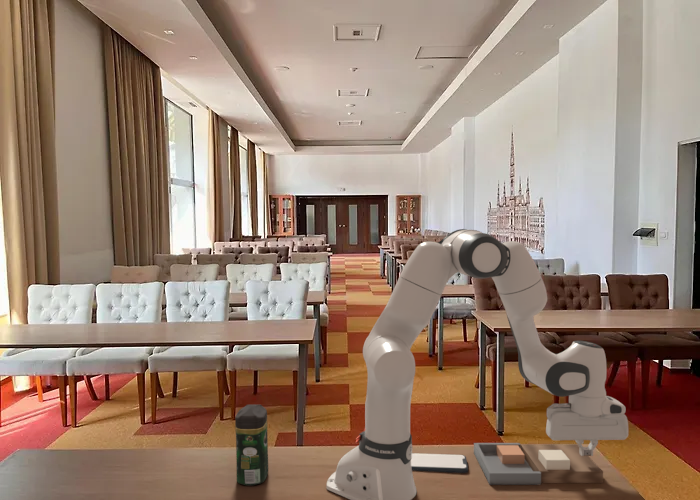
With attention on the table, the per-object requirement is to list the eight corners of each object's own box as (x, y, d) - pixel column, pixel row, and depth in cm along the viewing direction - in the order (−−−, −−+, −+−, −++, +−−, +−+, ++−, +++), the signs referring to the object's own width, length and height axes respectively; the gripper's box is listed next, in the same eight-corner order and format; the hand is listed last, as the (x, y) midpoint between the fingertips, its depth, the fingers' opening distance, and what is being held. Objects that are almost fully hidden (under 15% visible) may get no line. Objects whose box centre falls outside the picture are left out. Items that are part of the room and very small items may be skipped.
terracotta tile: (502, 463, 148) (502, 454, 148) (496, 453, 154) (496, 445, 154) (524, 463, 148) (524, 454, 147) (517, 453, 154) (517, 445, 153)
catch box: (489, 484, 138) (489, 473, 137) (473, 453, 156) (473, 442, 155) (540, 484, 138) (541, 473, 137) (519, 453, 155) (519, 442, 155)
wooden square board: (539, 482, 139) (539, 471, 138) (520, 454, 154) (520, 444, 154) (602, 482, 138) (603, 471, 138) (577, 454, 154) (577, 444, 154)
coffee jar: (241, 468, 147) (240, 401, 145) (270, 469, 146) (269, 401, 145) (233, 487, 137) (231, 415, 136) (264, 487, 137) (263, 415, 135)
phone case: (407, 472, 146) (468, 475, 144) (407, 466, 146) (468, 469, 143) (408, 457, 154) (465, 459, 152) (408, 452, 154) (465, 454, 152)
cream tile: (546, 469, 139) (546, 460, 139) (538, 458, 145) (538, 449, 145) (569, 469, 139) (570, 460, 139) (560, 458, 145) (561, 449, 145)
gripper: (551, 408, 138) (550, 460, 139) (632, 407, 138) (630, 460, 139) (542, 399, 144) (542, 450, 145) (620, 398, 144) (618, 449, 145)
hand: (586, 455), depth 142 cm, fingers closed
